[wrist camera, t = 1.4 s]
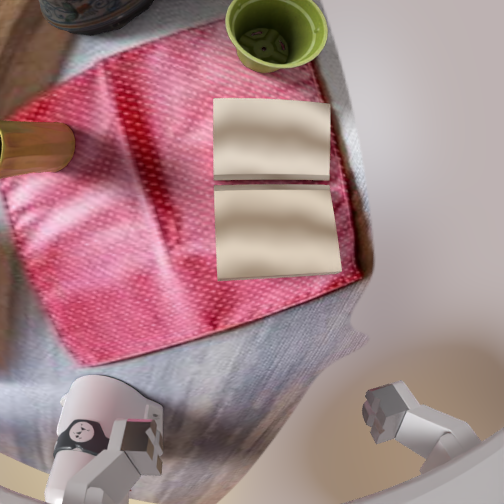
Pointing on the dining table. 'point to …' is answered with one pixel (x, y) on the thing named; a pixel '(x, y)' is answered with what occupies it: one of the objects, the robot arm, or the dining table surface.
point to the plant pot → (276, 32)
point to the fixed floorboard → (270, 139)
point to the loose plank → (275, 231)
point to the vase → (34, 147)
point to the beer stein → (91, 14)
